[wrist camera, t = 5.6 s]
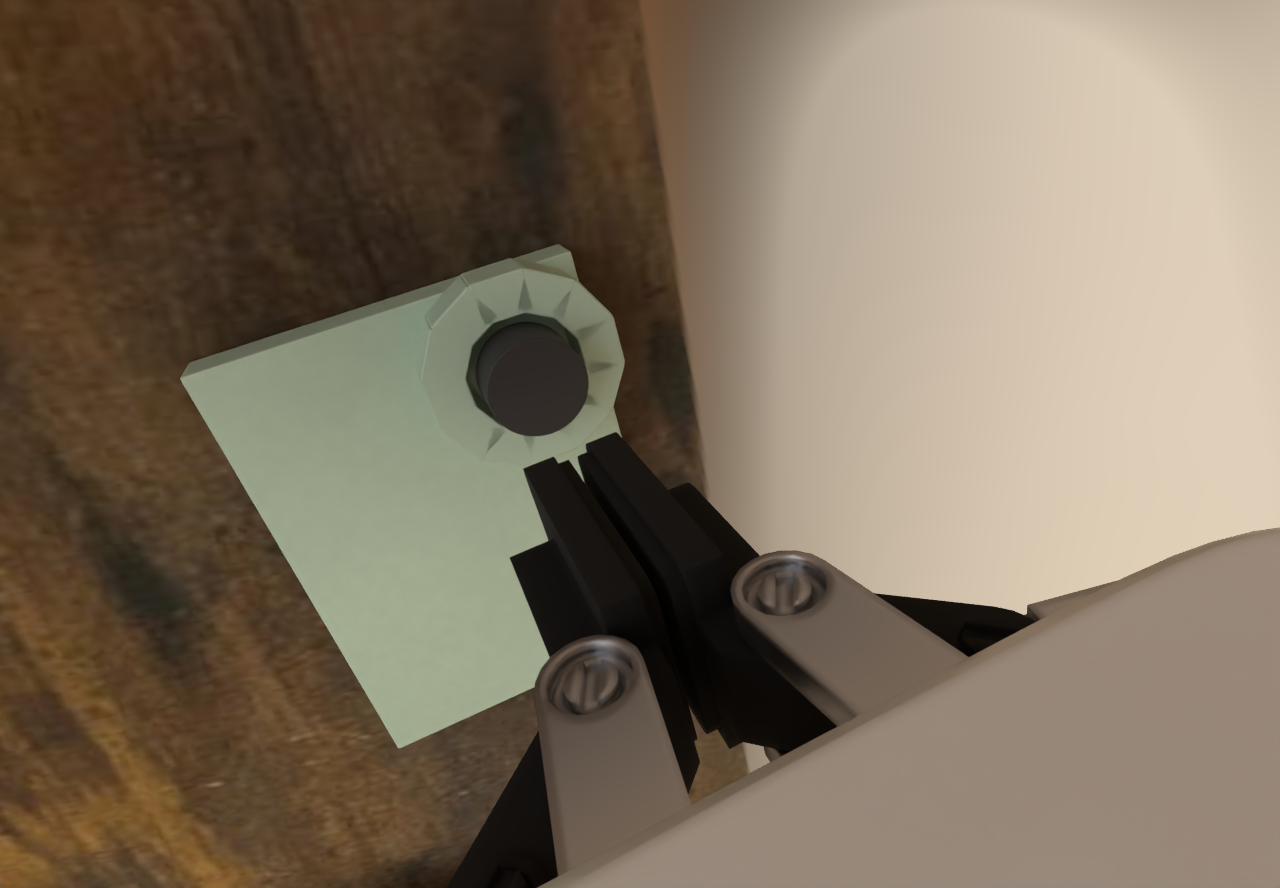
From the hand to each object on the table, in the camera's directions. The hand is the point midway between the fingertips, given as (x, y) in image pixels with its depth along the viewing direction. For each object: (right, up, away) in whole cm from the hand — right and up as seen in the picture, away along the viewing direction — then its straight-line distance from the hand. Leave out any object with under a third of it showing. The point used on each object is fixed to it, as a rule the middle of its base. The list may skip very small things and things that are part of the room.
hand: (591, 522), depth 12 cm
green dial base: (-5, -1, +13) cm, 14 cm away
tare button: (-2, +3, +9) cm, 10 cm away
